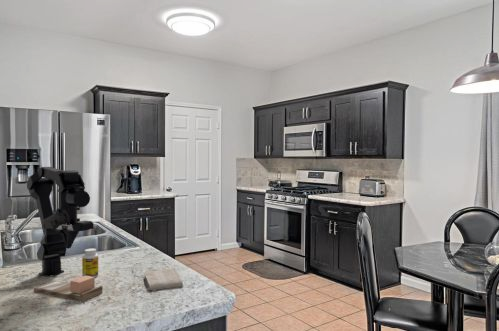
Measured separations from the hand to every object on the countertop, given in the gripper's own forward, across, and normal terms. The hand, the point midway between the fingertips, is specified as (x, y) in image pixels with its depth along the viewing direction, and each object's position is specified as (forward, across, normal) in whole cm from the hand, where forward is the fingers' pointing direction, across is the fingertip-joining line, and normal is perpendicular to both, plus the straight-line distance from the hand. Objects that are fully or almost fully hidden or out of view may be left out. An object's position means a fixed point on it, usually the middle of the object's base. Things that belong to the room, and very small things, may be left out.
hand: (68, 248), depth 131 cm
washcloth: (+13, +31, +14) cm, 36 cm away
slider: (+10, +15, -8) cm, 20 cm away
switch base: (+12, +9, -8) cm, 17 cm away
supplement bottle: (+12, +3, +7) cm, 14 cm away
